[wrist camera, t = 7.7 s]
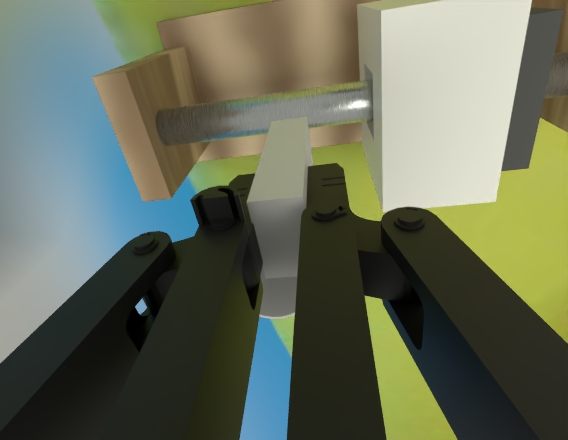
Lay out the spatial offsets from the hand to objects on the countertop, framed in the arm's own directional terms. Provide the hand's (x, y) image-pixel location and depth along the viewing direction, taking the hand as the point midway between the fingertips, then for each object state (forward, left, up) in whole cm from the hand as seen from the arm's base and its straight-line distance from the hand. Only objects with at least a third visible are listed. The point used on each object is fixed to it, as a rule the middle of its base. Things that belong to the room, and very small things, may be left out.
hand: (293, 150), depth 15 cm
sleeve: (+1, +7, -13) cm, 15 cm away
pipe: (+1, +4, -10) cm, 10 cm away
